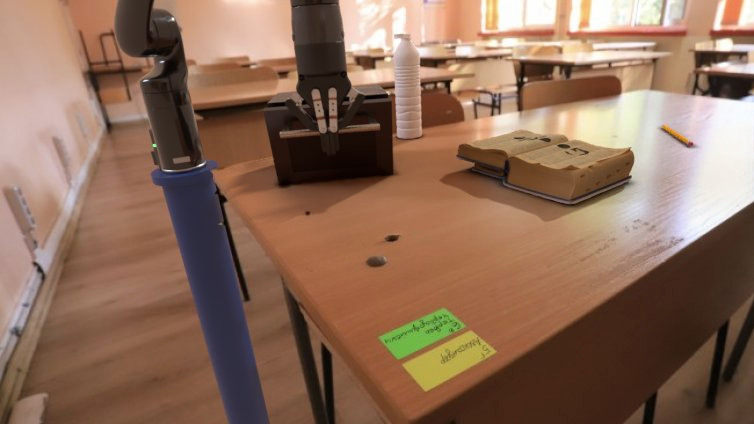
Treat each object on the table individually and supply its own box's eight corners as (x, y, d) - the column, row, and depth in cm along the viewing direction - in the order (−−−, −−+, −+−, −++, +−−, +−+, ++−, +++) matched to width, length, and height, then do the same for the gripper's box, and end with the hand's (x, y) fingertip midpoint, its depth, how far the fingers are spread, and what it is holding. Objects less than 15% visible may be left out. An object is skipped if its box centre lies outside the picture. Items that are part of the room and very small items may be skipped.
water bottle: (402, 133, 114) (398, 34, 104) (425, 134, 111) (423, 32, 101) (390, 140, 106) (384, 35, 97) (414, 141, 104) (410, 33, 94)
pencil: (688, 146, 84) (689, 142, 84) (659, 126, 101) (660, 123, 101) (693, 146, 84) (693, 142, 84) (663, 126, 101) (664, 123, 101)
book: (632, 181, 68) (639, 145, 66) (570, 206, 60) (574, 167, 58) (512, 153, 88) (514, 125, 86) (453, 170, 80) (453, 139, 78)
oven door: (396, 185, 77) (395, 109, 68) (276, 196, 75) (260, 120, 67) (392, 170, 81) (390, 97, 73) (279, 180, 80) (264, 107, 72)
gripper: (362, 37, 65) (369, 145, 72) (277, 43, 65) (293, 152, 71) (365, 37, 58) (373, 156, 65) (270, 43, 58) (288, 164, 64)
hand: (331, 154), depth 68 cm, fingers closed
